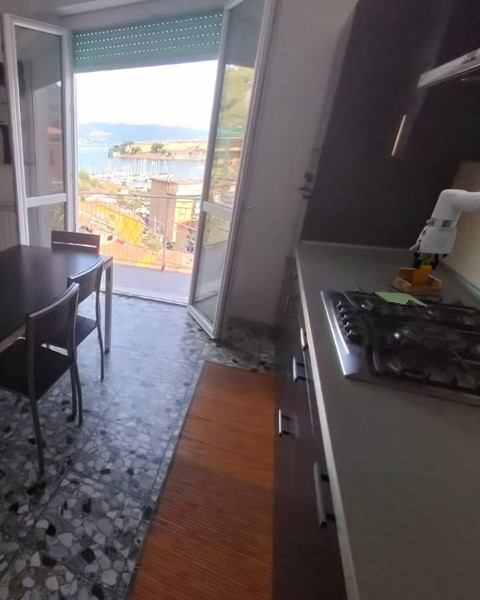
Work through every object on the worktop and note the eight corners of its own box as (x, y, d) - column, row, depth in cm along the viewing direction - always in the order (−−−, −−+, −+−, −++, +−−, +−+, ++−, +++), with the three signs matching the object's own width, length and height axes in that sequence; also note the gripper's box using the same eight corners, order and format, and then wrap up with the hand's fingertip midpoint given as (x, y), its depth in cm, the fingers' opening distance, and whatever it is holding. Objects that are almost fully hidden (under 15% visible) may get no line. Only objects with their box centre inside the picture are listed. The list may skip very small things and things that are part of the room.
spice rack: (438, 296, 141) (446, 277, 138) (406, 294, 143) (414, 275, 140) (421, 287, 150) (428, 269, 147) (391, 285, 152) (398, 267, 149)
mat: (427, 307, 132) (428, 306, 131) (391, 305, 134) (391, 303, 133) (407, 295, 142) (407, 293, 142) (373, 292, 144) (374, 291, 144)
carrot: (419, 289, 148) (434, 254, 142) (424, 293, 144) (439, 258, 138) (404, 287, 150) (418, 253, 144) (408, 291, 146) (423, 256, 140)
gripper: (423, 224, 133) (405, 270, 141) (476, 226, 131) (455, 273, 138) (410, 220, 140) (393, 264, 148) (460, 222, 137) (441, 267, 145)
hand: (423, 268), depth 143 cm, fingers closed on carrot, 4 cm apart
